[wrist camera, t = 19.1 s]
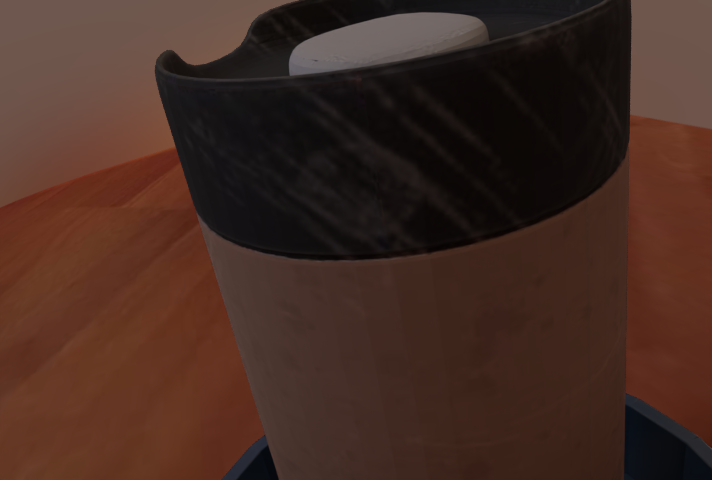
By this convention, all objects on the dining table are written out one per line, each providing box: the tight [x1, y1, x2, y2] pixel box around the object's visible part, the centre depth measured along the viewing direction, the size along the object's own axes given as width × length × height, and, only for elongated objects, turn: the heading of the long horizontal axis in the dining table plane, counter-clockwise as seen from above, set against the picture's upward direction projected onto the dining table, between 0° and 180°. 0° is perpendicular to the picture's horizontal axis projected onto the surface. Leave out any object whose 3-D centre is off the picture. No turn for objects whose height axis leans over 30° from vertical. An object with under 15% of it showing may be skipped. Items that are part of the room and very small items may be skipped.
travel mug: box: [155, 0, 631, 480], centre depth 15 cm, size 8×8×20 cm
